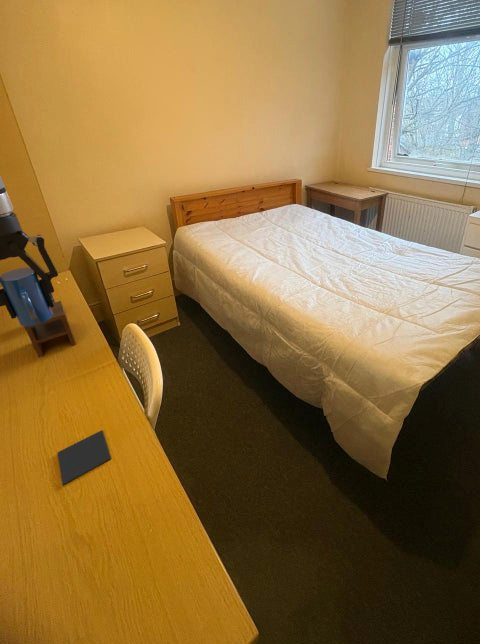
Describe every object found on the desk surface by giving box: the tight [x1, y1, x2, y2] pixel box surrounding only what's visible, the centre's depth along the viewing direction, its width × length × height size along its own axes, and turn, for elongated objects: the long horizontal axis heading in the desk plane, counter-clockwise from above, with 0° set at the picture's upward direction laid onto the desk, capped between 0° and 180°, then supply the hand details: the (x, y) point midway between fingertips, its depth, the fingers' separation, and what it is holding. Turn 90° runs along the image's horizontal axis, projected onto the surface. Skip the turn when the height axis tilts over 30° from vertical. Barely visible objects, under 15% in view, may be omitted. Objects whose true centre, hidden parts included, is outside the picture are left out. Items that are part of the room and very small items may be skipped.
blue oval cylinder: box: [0, 267, 53, 327], centre depth 73 cm, size 9×6×12 cm
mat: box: [57, 430, 112, 486], centre depth 72 cm, size 9×9×1 cm
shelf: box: [23, 300, 77, 358], centre depth 103 cm, size 10×10×12 cm
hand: (33, 309), depth 75 cm, fingers closed on blue oval cylinder, 6 cm apart
